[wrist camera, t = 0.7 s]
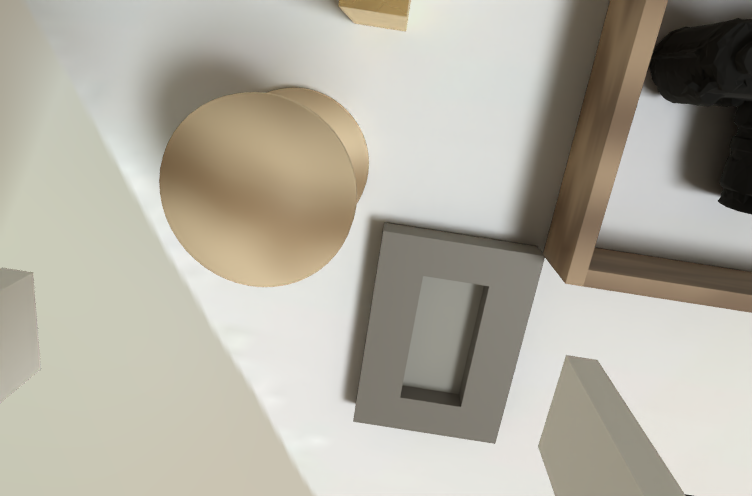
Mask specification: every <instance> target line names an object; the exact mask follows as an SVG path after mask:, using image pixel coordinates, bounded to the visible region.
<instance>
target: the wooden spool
mask: <svg viewBox="0 0 752 496" xmlns="http://www.w3.org/2000/svg"><path fill="white" fill-rule="evenodd" d="M368 169H369V157H368V150H367V145H366V142H365V139H364V136H363V134H362V131H361V129H360V127H359V126H358V124H357V122H356V121H355V119H354V118H353V117H352V116H351V114H350V113H349V112H348V111H347V110H346V109H345V108H344V107H343V106H342V105H341V104H339V103H338V102H336V101H335V100H334V99H332V98H330V97H328V96H326V95H325V94H322V93H320V92H317V91H314V90H310V89H305V88H282V89H277V90H272V91H270V92H267V93H262V92H246V93H236V94H231V95H226V96H223V97H220V98H217V99H214V100H211V101H210V102H208V103H206V104H204V105H202V106H200V107H199V108H197V109H196V110H195V111H193V112H192V113H191V114H189V115H188V116H187V117H186V118H185V119H184V120H183V121H182V122H181V124H180V125H179V126H178V128H177V129H176V130H175V131H174V133H173V135H172V137H171V138H170V140H169V142H168V144H167V147H166V149H165V152H164V155H163V158H162V163H161V167H160V179H159V182H160V196H161V201H162V206H163V209H164V213H165V216H166V219H167V221H168V223H169V225H170V227H171V229H172V231H173V233H174V234H175V236H176V238H177V239H178V241H179V242H180V243H181V245H182V246H183V247H184V248H185V250H186V251H187V252H188V253H189V254H190V255H191V256H192V257H193V258H194V259H195V260H196V261H198V262H199V263H200V264H201V265H203V266H204V267H205V268H207V269H208V270H210V271H211V272H213V273H215V274H216V275H219V276H221V277H223V278H225V279H227V280H230V281H233V282H236V283H239V284H243V285H248V286H256V287H276V286H283V285H288V284H291V283H295V282H298V281H300V280H302V279H305V278H307V277H309V276H311V275H312V274H314V273H316V272H317V271H319V270H320V269H321V268H323V267H324V266H325V265H326V264H328V262H329V261H330V260H331V259H332V258H333V257H334V256H335V255H336V254H337V252H338V251H339V249H340V248H341V247H342V245H343V243H344V241H345V239H346V237H347V236H348V233H349V230H350V228H351V225H352V222H353V219H354V215H355V210H356V204H357V203H358V201H359V199H360V197H361V195H362V193H363V190H364V187H365V185H366V181H367V177H368Z"/></svg>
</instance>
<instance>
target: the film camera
mask: <svg viewBox="0 0 752 496" xmlns="http://www.w3.org/2000/svg"><path fill="white" fill-rule="evenodd" d="M649 68H650V72H651V75H652V80H653V82H654V83H655V85H656V86H657V88H658V92H659V93H660V94H661V95H662V96H663V97H664V98H665V99H666V100H668V101H670V102H672V103H681V104H693V105H701V106H711V105H717V106H724V107H728V106H735V107H736V106H738V108H737V111H736V114H735V117H734V122H735V124H736V125H737V126H738V132H737V135H736V136H733V138H732V141H731V143H730V146H729V147H730V148H731V155H730V156H729V157H728V159H727V162H726V165H725V168H724V171H723V173H722V176H721V179H720V183H719V184H720V185H721V186H722V187H723V189H724V190H723V191H722V193H721V197H720V199H719V200H718V202H719V203H720V204H722V205H724V206H726V207H728V208H731V209H734V210H737V211H740V212H744V213H748V214H752V19H739V18H738V19H734V20H731V21H727V22H721V23H716V24H711V25H704V26H698V27H691V28H690V27H684V28H681V29H678V30H675V31H672V32H670V33H669V34H668V35H667V36H666V37H665V38H664V39H663V40H661V41H660V42H659V43H658V45H657V46H656V48H655V50H654V52H653V53H652V56H651V61H650V65H649Z"/></svg>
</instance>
